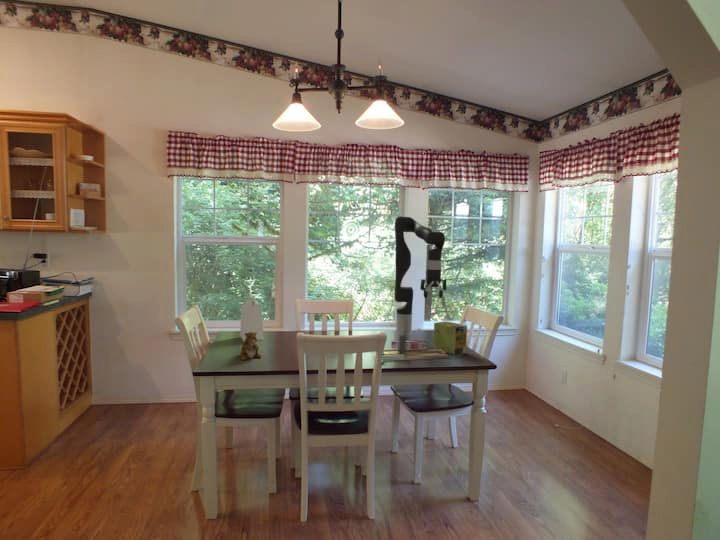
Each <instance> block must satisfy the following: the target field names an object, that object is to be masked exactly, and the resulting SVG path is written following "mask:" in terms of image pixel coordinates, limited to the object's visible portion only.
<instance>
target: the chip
mask: <svg viewBox="0 0 720 540" xmlns="http://www.w3.org/2000/svg"><path fill="white" fill-rule="evenodd" d="M391 353H392V354H393V355H400V353H399V352H398V351H391Z"/></svg>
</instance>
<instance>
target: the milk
mask: <svg viewBox="0 0 720 540" xmlns="http://www.w3.org/2000/svg"><path fill="white" fill-rule="evenodd" d="M248 296H249V298H248V300H247V301H246V302H244V303H243V304H242V306H241V309H240V330H239V338H240V337H241V338H242V339H243V340H242V339H241V338H240V339H241V340H242V341H243V342H244V341H245V339H246V336H245V334H244V333H249V332H254V333H256V332H257V334H256V338H257V339H256V340H259V341H261V340H260V339H263V340H264V321H263V319H264V318H263V308H262V307H261V306H260V303H259V302H258V301H257V300H255V297H254V295H252V294H249V295H248Z"/></svg>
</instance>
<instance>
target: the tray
mask: <svg viewBox="0 0 720 540" xmlns="http://www.w3.org/2000/svg"><path fill="white" fill-rule="evenodd" d="M391 351H398V349H392V348H386V349H385V350H384V352H391ZM404 356H405V355H404V354H401V355H383V363H384V364H385V363H386V362H388V361H389V362H390V361H405V360H404ZM383 363H382V364H383Z"/></svg>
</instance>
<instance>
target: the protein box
mask: <svg viewBox="0 0 720 540" xmlns="http://www.w3.org/2000/svg"><path fill="white" fill-rule="evenodd" d="M467 336H468V325H466V324H461V323H456V322H452V321H445V320H444V321H439V322H434V323H433V344H432V345H433V347H432V349H442V350H443V351H445V352H446V353H448V354H453V355H457V354H460V355H464V354H466V353H467V343H468V342H467V340H468V339H467Z"/></svg>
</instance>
